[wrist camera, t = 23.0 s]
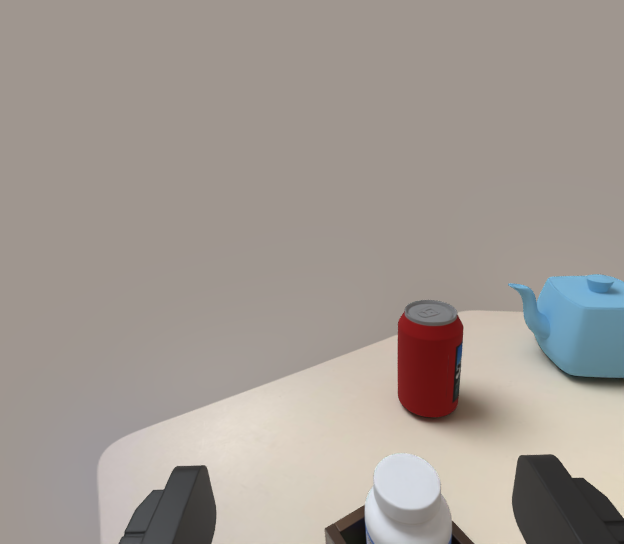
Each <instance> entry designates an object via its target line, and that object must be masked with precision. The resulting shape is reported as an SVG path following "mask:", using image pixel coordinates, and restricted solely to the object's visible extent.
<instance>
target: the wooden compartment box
mask: <svg viewBox="0 0 624 544" xmlns="http://www.w3.org/2000/svg"><path fill="white" fill-rule="evenodd" d="M325 538H326V544H367V542H366V528H365V505H364V506H362V507H360V508H359V509H357V510H355V511H354V512H352V513H350V514H349V515H347V516H345V517H344V518H342V519H340V520H339V521H337V522H335V523H334V524H332V525H330V526H328V527H327V528H325ZM451 544H474V543H473V542H472V541H471V540H470V539H469V538H468V537H467V536H466V535H465V533H464V532H463V531H462V530H461V529H460V528H459V527H458V526H457V525H456V524H455V523H454V522H453V521H452V537H451Z"/></svg>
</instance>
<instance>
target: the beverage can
mask: <svg viewBox="0 0 624 544" xmlns="http://www.w3.org/2000/svg"><path fill="white" fill-rule="evenodd" d="M462 343H463V324H462V322H461V321H460V319H459V317H458V315H457V310H456V309H455V308H454V307H453V306H451V305H449V304H447V303H444V302H441V301H434V300H421V301H415V302H412V303H410V304H408V305H407V306H406V308H405V311H404V313H403V314H402V316H401V318H400V319H399V322H398V398H399V400H400V402H401V404H402V405H403V406H404V407H405V408H406V409H408V410H409V411H411V412H413V413H415V414H417V415H420V416H424V417H442V416H445V415H448V414H450V413H451V412H453V411H454V410H455V409H456V407H457V405H458V396H459V385H460V372H461V358H462Z"/></svg>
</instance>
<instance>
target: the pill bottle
mask: <svg viewBox="0 0 624 544" xmlns="http://www.w3.org/2000/svg"><path fill="white" fill-rule="evenodd" d="M365 528H366V542H367V544H451V537H452V518H451V513H450V509H449V506H448V504H447V502H446V500H445V498H444V497H443V495H442V494H441V483H440V479H439V476H438V474H437V472H436V471H435V469H434V468H433V467H432V466H431V465H430V464H429V463H428V462H427V461H425V460H424V459H422V458H420V457H418V456H415V455H412V454H406V453H397V454H392V455H389V456H387V457H385V458H384V459H382V460H381V461H380V462H379V463H378V465H377V466H376V469H375V471H374V485H373V487H372V488H371V489H370V491H369V493H368V495H367V498H366V502H365Z"/></svg>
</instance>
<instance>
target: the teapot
mask: <svg viewBox="0 0 624 544" xmlns="http://www.w3.org/2000/svg"><path fill="white" fill-rule="evenodd" d="M508 285H509V286H510V287H512V288H514V289H515V290H517V291H518V292H519V293H520V295H521V297H522V300H523V312H524V319H525V322H526V324H527V326H528V327H529V329H530V330H531V331H532V332H533V333H534V335H535V338H536V340H537V342H538V344H539V346H540V347H541V349H542V350H543V352H544V353H545V354H546V355H547V356H548V357H549V358H550V359H551V360H552V361H553V362H554V363H555V364H556V365H557V366H558V367H559V368H560V369H561V370H563V371H564V372H566V373H568V374H570V375H575V376H586V377H606V378H624V282H623V281H621V280H618V279H616V278H613V277H610V276H606V275H599V274H594V275H588V276H561V277H560V276H558V277H550V278H548V279H547V281H546V283H545V285H544V287H543V289H542V291H541V293H540V295H539V297H538V300H537V302H536V298H535V295H534V293H533V291H532V290H531V289H530V288H529V287H527V286H524V285H520V284H508Z"/></svg>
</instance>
